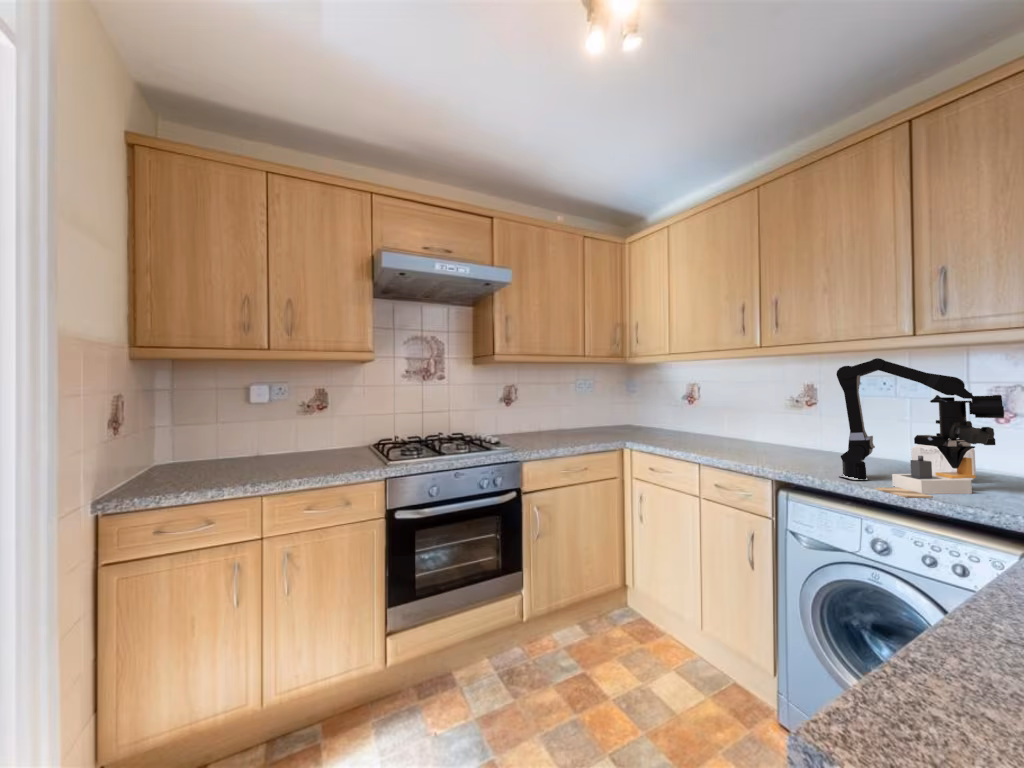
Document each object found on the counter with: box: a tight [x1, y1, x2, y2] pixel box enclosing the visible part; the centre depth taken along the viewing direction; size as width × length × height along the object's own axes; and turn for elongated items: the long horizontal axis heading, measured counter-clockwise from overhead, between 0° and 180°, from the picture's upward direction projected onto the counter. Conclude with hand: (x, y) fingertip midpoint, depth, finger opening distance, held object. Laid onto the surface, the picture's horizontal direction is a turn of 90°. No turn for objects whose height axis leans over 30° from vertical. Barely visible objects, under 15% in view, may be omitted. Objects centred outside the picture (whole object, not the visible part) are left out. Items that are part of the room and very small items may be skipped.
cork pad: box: [875, 486, 933, 499], centre depth 124 cm, size 11×7×1 cm, turn 177°
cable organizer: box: [910, 444, 977, 481], centre depth 143 cm, size 15×11×12 cm
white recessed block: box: [891, 473, 973, 495], centre depth 127 cm, size 10×14×4 cm
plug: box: [901, 456, 941, 479], centre depth 128 cm, size 6×7×8 cm
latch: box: [935, 457, 977, 479], centre depth 127 cm, size 5×7×6 cm
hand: (955, 468), depth 127 cm, fingers closed
